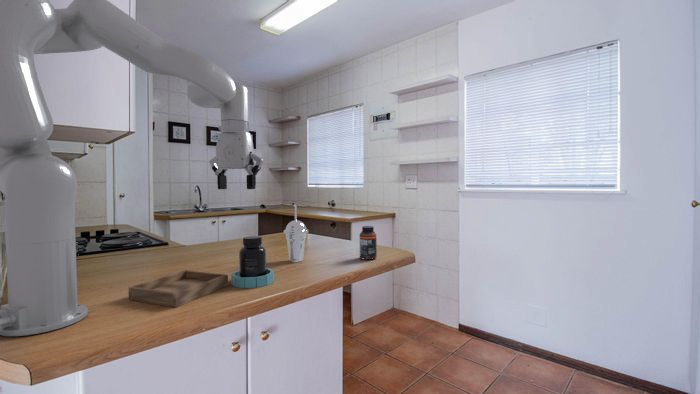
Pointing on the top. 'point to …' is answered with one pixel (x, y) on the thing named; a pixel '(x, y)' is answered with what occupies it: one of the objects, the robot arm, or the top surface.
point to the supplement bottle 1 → (252, 257)
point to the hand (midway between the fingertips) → (236, 189)
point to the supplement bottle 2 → (368, 243)
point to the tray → (178, 288)
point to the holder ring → (252, 280)
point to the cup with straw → (296, 238)
